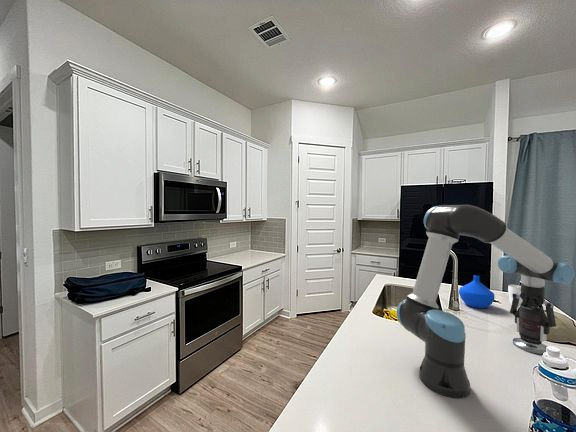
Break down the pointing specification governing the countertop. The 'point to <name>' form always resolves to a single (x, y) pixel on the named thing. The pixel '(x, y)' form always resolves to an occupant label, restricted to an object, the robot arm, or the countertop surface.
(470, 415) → the countertop surface
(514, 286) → the cup
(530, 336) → the camera lens
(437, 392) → the robot arm
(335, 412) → the countertop surface
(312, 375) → the countertop surface
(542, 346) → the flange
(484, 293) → the vase
